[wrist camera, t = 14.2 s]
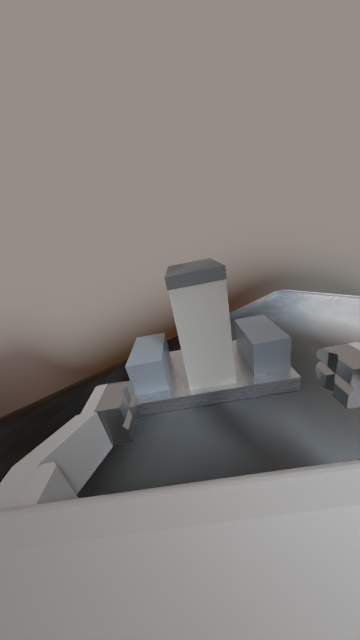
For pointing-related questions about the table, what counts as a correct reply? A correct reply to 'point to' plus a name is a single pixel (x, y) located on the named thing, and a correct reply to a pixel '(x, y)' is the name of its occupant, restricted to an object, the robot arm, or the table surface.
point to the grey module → (202, 321)
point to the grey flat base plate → (242, 389)
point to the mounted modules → (251, 338)
